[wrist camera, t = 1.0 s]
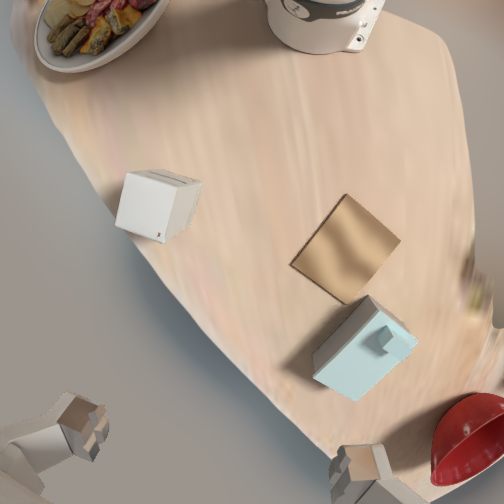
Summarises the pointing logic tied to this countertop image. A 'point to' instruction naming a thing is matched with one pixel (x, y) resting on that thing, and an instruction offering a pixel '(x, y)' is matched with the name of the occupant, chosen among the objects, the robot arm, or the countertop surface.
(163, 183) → the supplement box
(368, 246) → the mat
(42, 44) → the bowl
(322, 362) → the tub
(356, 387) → the lid
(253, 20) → the countertop surface
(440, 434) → the mixing bowl
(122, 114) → the countertop surface
